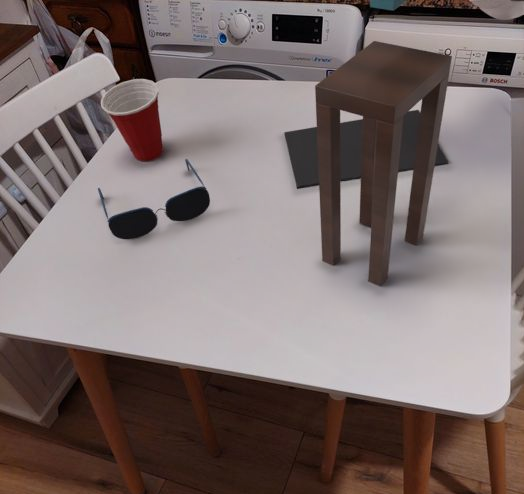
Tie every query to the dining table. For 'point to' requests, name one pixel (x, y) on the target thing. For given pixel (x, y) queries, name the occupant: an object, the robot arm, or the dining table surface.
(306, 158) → the mat
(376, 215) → the stand
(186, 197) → the sunglasses
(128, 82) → the plastic cup
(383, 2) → the rail
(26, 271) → the dining table surface
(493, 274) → the dining table surface
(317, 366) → the dining table surface
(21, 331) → the dining table surface
